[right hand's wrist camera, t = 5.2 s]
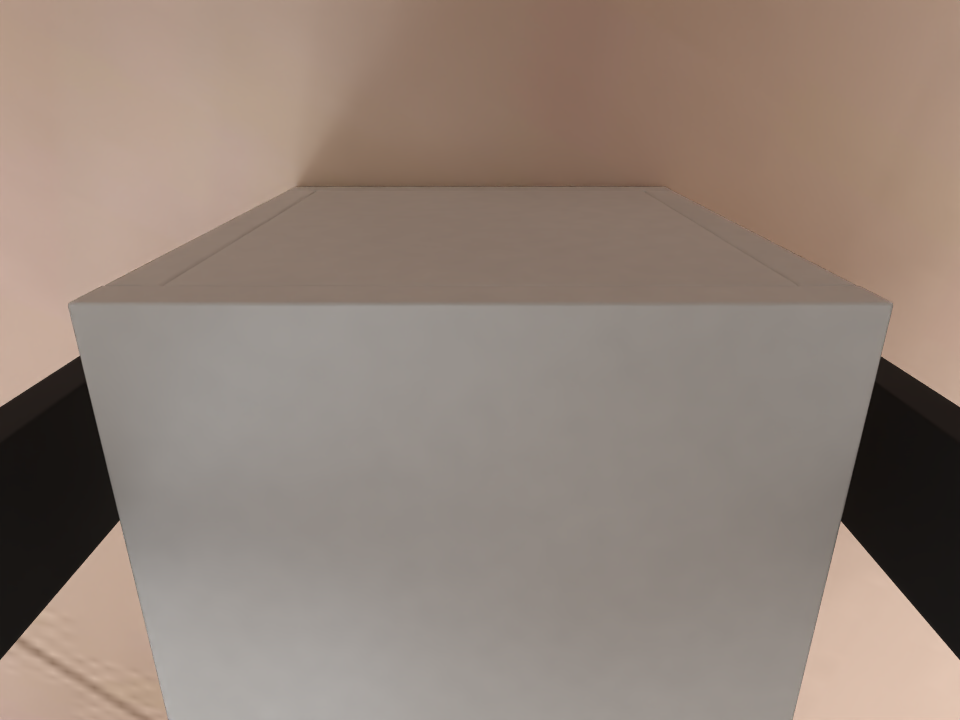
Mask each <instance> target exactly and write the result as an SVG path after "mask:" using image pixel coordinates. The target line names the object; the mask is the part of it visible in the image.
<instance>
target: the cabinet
mask: <svg viewBox="0 0 960 720" xmlns="http://www.w3.org/2000/svg"><path fill="white" fill-rule="evenodd" d="M68 308H69V312H70V316H71V320H72V324H73V328H74V332H75V336H76V341H77V345H78V349H79V353H80V357H81V361H82V365H83V369H84V374H85V378H86V382H87V386H88V390H89V394H90V398H91V402H92V407H93V411H94V415H95V419H96V423H97V427H98V431H99V436H100V440H101V444H102V448H103V452H104V456H105V460H106V464H107V469H108V473H109V477H110V481H111V485H112V489H113V493H114V497H115V502H116V506H117V510H118V514H119V518H120V522H121V526H122V530H123V535H124V539H125V543H126V547H127V551H128V555H129V559H130V563H131V568H132V572H133V576H134V580H135V584H136V588H137V592H138V596H139V601H140V605H141V609H142V613H143V617H144V621H145V625H146V630H147V634H148V638H149V642H150V646H151V650H152V654H153V658H154V663H155V667H156V671H157V675H158V679H159V683H160V687H161V691H162V696H163V700H164V704H165V708H166V712H167V716H168V720H793V716H794V711H795V707H796V703H797V699H798V695H799V691H800V687H801V683H802V679H803V674H804V670H805V666H806V662H807V658H808V654H809V650H810V646H811V641H812V637H813V633H814V629H815V625H816V621H817V617H818V613H819V609H820V604H821V600H822V596H823V592H824V588H825V584H826V580H827V576H828V572H829V567H830V563H831V559H832V555H833V551H834V547H835V543H836V539H837V534H838V530H839V526H840V522H841V518H842V514H843V510H844V506H845V502H846V497H847V493H848V489H849V485H850V481H851V477H852V473H853V469H854V464H855V460H856V456H857V452H858V448H859V444H860V440H861V436H862V432H863V427H864V423H865V419H866V415H867V411H868V407H869V403H870V399H871V394H872V390H873V386H874V382H875V378H876V374H877V370H878V366H879V362H880V357H881V353H882V349H883V345H884V341H885V337H886V333H887V329H888V324H889V320H890V316H891V312H892V308H893V303H892V302H890V301H888V300H886V299H884V298H882V297H880V296H878V295H876V294H874V293H872V292H870V291H868V290H866V289H864V288H863V287H860V286H856V285H855V284H853V283H851V282H849V281H847V280H845V279H843V278H841V277H839V276H837V275H835V274H833V273H831V272H829V271H827V270H825V269H823V268H822V267H820V266H818V265H816V264H814V263H812V262H810V261H808V260H806V259H804V258H802V257H800V256H798V255H796V254H794V253H792V252H790V251H788V250H787V249H785V248H783V247H781V246H779V245H777V244H775V243H773V242H771V241H769V240H767V239H765V238H763V237H761V236H759V235H757V234H755V233H754V232H752V231H750V230H748V229H746V228H744V227H742V226H740V225H738V224H736V223H734V222H732V221H730V220H728V219H726V218H724V217H722V216H720V215H719V214H717V213H715V212H713V211H711V210H709V209H707V208H705V207H703V206H701V205H699V204H697V203H695V202H693V201H691V200H689V199H687V198H685V197H684V196H682V195H680V194H678V193H676V192H674V191H672V190H670V189H668V188H666V187H294V188H292V189H290V190H288V191H286V192H284V193H282V194H281V195H279V196H277V197H275V198H273V199H271V200H269V201H267V202H265V203H263V204H261V205H259V206H257V207H255V208H253V209H252V210H250V211H248V212H246V213H244V214H242V215H240V216H238V217H236V218H234V219H232V220H230V221H228V222H226V223H224V224H223V225H221V226H219V227H217V228H215V229H213V230H211V231H209V232H207V233H205V234H203V235H201V236H199V237H197V238H195V239H194V240H192V241H190V242H188V243H186V244H184V245H182V246H180V247H178V248H176V249H174V250H172V251H170V252H168V253H166V254H165V255H163V256H161V257H159V258H157V259H155V260H153V261H151V262H149V263H147V264H145V265H143V266H141V267H139V268H138V269H136V270H134V271H132V272H130V273H128V274H126V275H124V276H122V277H120V278H118V279H116V280H114V281H112V282H110V283H109V284H107V285H105V286H101V287H99V288H97V289H95V290H93V291H91V292H89V293H87V294H85V295H83V296H81V297H79V298H77V299H75V300H74V301H72V302H70V303H69V304H68Z"/></svg>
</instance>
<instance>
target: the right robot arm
mask: <svg viewBox="0 0 960 720" xmlns="http://www.w3.org/2000/svg"><path fill="white" fill-rule="evenodd" d="M119 520H120V518H119V514H118V510H117V506H116V502H115V497H114V493H113V489H112V485H111V481H110V477H109V473H108V469H107V464H106V460H105V456H104V452H103V448H102V444H101V440H100V436H99V431H98V427H97V423H96V419H95V415H94V411H93V407H92V402H91V398H90V394H89V390H88V386H87V382H86V378H85V374H84V369H83V365H82V361H81V357H80V356H79V357H77V358H76V359H74V360H73V361H71V362H70V363H68V364H67V365H65V366H63V367H62V368H60V369H59V370H57V371H56V372H54V373H53V374H51V375H49V376H48V377H46V378H45V379H43V380H42V381H40V382H39V383H37V384H35V385H34V386H32V387H31V388H29V389H28V390H26V391H25V392H23V393H21V394H20V395H18V396H17V397H15V398H14V399H12V400H11V401H9V402H8V403H6V404H4V405H3V406H1V407H0V660H1V658H2V657H3V656H4V655H5V654H6V653H7V651H8V650H9V649H10V648H11V647H12V646H13V644H14V643H15V642H16V641H17V640H18V638H19V637H20V636H21V635H22V634H23V633H24V631H25V630H26V629H27V628H28V627H29V626H30V624H31V623H32V622H33V621H34V620H35V619H36V617H37V616H38V615H39V614H40V613H41V612H42V610H43V609H44V608H45V607H46V606H47V605H48V603H49V602H50V601H51V600H52V599H53V598H54V596H55V595H56V594H57V593H58V592H59V590H60V589H61V588H62V587H63V586H64V585H65V583H66V582H67V581H68V580H69V579H70V578H71V576H72V575H73V574H74V573H75V572H76V571H77V569H78V568H79V567H80V566H81V565H82V564H83V562H84V561H85V560H86V559H87V558H88V557H89V555H90V554H91V553H92V552H93V551H94V550H95V548H96V547H97V546H98V545H99V544H100V543H101V541H102V540H103V539H104V538H105V537H106V535H107V534H108V533H109V532H110V531H111V530H112V528H113V527H114V526H115V525H116V524H117V523H118V521H119ZM841 521H842V523H843V524H844V525H845V526H846V527H847V528H848V530H849V531H850V532H851V533H852V534H853V535H854V537H855V538H856V539H857V540H858V541H859V543H860V544H861V545H862V546H863V547H864V548H865V550H866V551H867V552H868V553H869V554H870V555H871V557H872V558H873V559H874V560H875V561H876V562H877V564H878V565H879V566H880V567H881V568H882V569H883V571H884V572H885V573H886V574H887V575H888V576H889V578H890V579H891V580H892V581H893V582H894V583H895V585H896V586H897V587H898V588H899V589H900V591H901V592H902V593H903V594H904V595H905V596H906V598H907V599H908V600H909V601H910V602H911V603H912V605H913V606H914V607H915V608H916V609H917V610H918V612H919V613H920V614H921V615H922V616H923V617H924V619H925V620H926V621H927V622H928V623H929V624H930V626H931V627H932V628H933V629H934V630H935V631H936V633H937V634H938V635H939V636H940V637H941V638H942V640H943V641H944V642H945V643H946V644H947V646H948V647H949V648H950V649H951V650H952V651H953V653H954V654H955V655H956V656H957V657H958V658H959V660H960V407H959V406H957V405H956V404H954V403H952V402H951V401H949V400H948V399H946V398H945V397H943V396H942V395H940V394H938V393H937V392H935V391H934V390H932V389H931V388H929V387H928V386H926V385H925V384H923V383H921V382H920V381H918V380H917V379H915V378H914V377H912V376H911V375H909V374H907V373H906V372H904V371H903V370H901V369H900V368H898V367H897V366H895V365H893V364H892V363H890V362H889V361H887V360H886V359H884V358H883V357H880V362H879V366H878V370H877V374H876V378H875V382H874V386H873V390H872V394H871V399H870V403H869V407H868V411H867V415H866V419H865V423H864V427H863V432H862V436H861V440H860V444H859V448H858V452H857V456H856V460H855V464H854V469H853V473H852V477H851V481H850V485H849V489H848V493H847V497H846V502H845V506H844V510H843V514H842V518H841Z"/></svg>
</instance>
